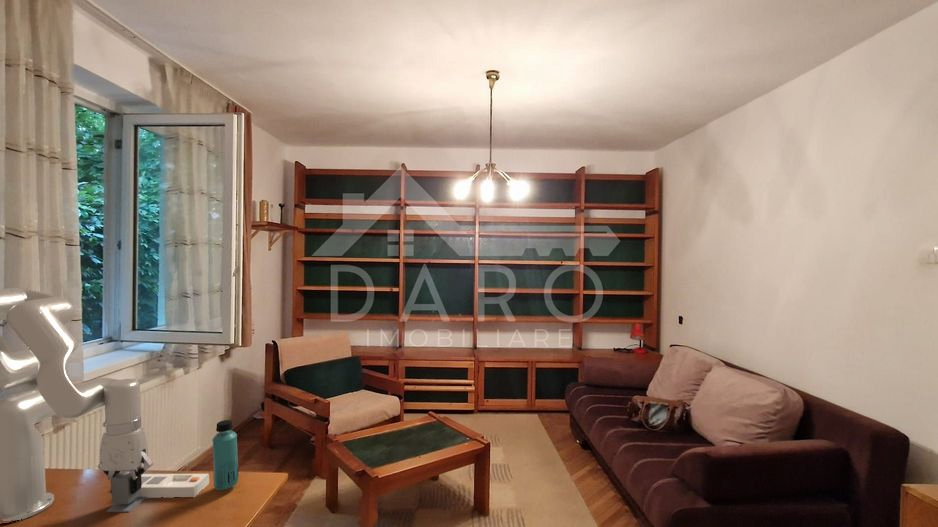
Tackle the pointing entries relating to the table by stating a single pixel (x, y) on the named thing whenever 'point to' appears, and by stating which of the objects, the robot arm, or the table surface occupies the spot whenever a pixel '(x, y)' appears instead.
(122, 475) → the charger
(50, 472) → the table surface
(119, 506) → the coaster
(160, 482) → the power strip
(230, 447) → the beverage bottle
